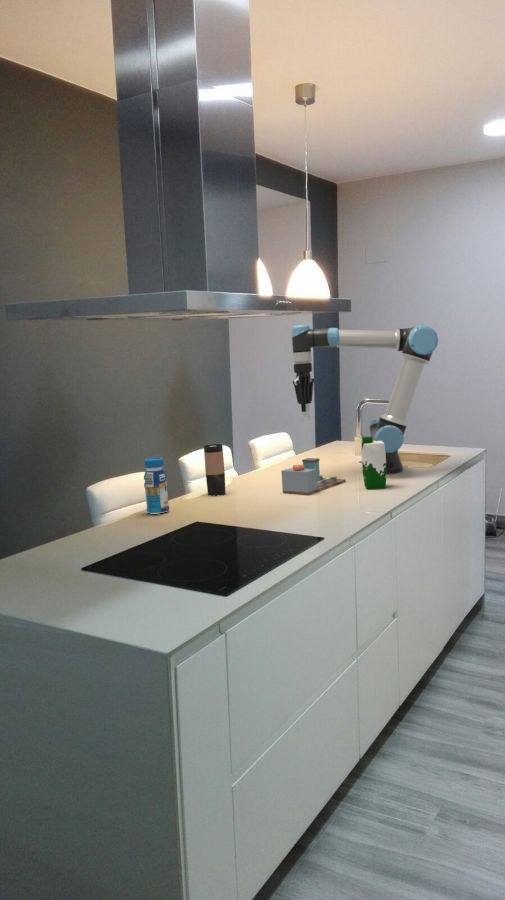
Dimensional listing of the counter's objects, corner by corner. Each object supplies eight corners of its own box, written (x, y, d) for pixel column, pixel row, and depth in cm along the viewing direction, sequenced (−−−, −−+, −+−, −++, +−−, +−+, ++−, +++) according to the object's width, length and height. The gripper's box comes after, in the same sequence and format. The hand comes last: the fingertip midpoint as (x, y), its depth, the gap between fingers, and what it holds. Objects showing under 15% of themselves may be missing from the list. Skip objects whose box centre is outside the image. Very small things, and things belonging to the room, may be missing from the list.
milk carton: (362, 486, 287) (359, 436, 284) (385, 484, 286) (382, 434, 284) (365, 490, 278) (362, 439, 275) (388, 488, 278) (386, 437, 275)
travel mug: (227, 491, 294) (223, 443, 291) (224, 495, 286) (221, 446, 284) (208, 492, 295) (205, 444, 292) (205, 496, 287) (202, 447, 284)
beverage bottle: (143, 512, 266) (138, 458, 263) (165, 508, 269) (161, 456, 266) (150, 516, 258) (145, 461, 255) (172, 512, 261) (168, 458, 259)
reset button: (297, 473, 284) (296, 464, 284) (306, 474, 282) (306, 464, 281) (291, 475, 281) (290, 466, 281) (300, 476, 278) (299, 466, 278)
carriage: (309, 483, 292) (308, 457, 291) (320, 484, 289) (319, 458, 288) (303, 485, 289) (302, 459, 288) (314, 486, 286) (313, 460, 284)
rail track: (321, 480, 305) (320, 473, 305) (345, 481, 298) (345, 474, 297) (282, 493, 284) (282, 485, 283) (308, 495, 276) (307, 487, 276)
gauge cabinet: (292, 487, 288) (290, 467, 287) (317, 489, 281) (316, 469, 280) (282, 490, 283) (281, 470, 282) (308, 492, 276) (306, 472, 275)
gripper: (303, 362, 306) (307, 417, 309) (286, 364, 296) (289, 421, 299) (318, 361, 301) (321, 417, 304) (301, 363, 291) (304, 421, 294)
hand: (305, 419), depth 302 cm, fingers closed
